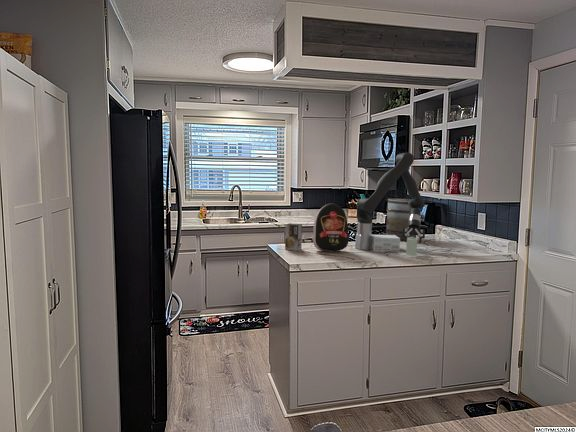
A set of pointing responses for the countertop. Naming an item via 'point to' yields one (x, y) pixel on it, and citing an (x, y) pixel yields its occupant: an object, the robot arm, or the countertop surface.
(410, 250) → the grey rectangular block
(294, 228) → the coffee box
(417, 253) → the butter plate
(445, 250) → the countertop surface
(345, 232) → the packaged food
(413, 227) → the robot arm
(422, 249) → the mat
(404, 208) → the barrel
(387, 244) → the supplement box
